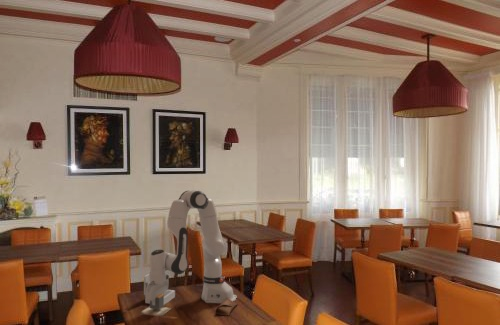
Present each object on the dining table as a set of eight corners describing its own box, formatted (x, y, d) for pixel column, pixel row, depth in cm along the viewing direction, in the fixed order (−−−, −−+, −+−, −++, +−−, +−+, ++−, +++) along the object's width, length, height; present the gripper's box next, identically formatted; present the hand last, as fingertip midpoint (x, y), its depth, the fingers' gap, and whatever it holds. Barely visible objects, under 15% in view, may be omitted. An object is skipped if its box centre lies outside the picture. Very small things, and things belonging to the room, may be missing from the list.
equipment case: (174, 298, 245) (175, 271, 245) (163, 307, 231) (163, 278, 231) (156, 296, 249) (156, 269, 249) (143, 304, 234) (144, 276, 234)
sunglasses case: (229, 315, 219) (224, 304, 219) (219, 320, 220) (214, 309, 221) (238, 303, 236) (233, 293, 237) (228, 308, 238) (223, 298, 238)
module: (163, 306, 225) (163, 294, 225) (159, 309, 221) (159, 297, 221) (154, 305, 227) (154, 293, 227) (149, 308, 222) (149, 296, 222)
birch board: (171, 309, 227) (171, 308, 227) (163, 316, 217) (163, 314, 217) (150, 307, 231) (150, 305, 231) (141, 313, 221) (141, 311, 221)
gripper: (152, 284, 213) (152, 310, 213) (170, 274, 232) (170, 297, 233) (142, 283, 215) (142, 308, 215) (161, 273, 234) (160, 296, 234)
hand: (157, 302), depth 224 cm, fingers closed on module, 5 cm apart
